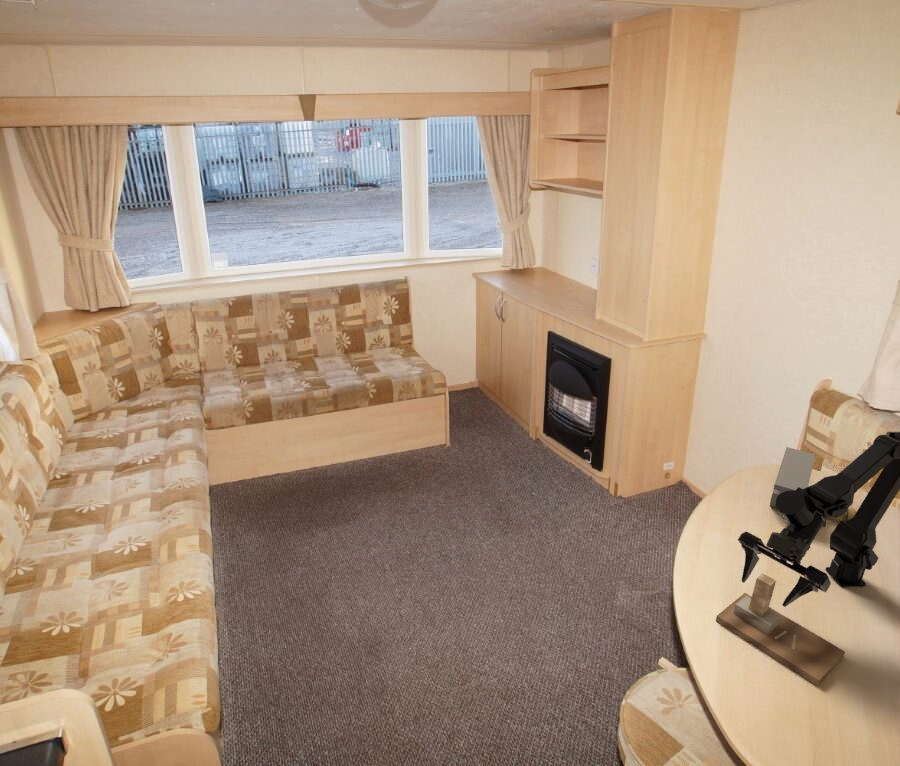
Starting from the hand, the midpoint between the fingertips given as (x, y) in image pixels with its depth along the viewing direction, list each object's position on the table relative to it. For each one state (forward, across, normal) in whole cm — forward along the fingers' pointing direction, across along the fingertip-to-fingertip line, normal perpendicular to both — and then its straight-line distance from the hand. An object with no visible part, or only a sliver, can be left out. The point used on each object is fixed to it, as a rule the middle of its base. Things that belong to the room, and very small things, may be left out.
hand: (762, 593), depth 140 cm
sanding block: (+5, 0, +5) cm, 7 cm away
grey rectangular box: (-32, -20, +44) cm, 58 cm away
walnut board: (+6, +5, +6) cm, 10 cm away
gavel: (-38, -12, +50) cm, 65 cm away
